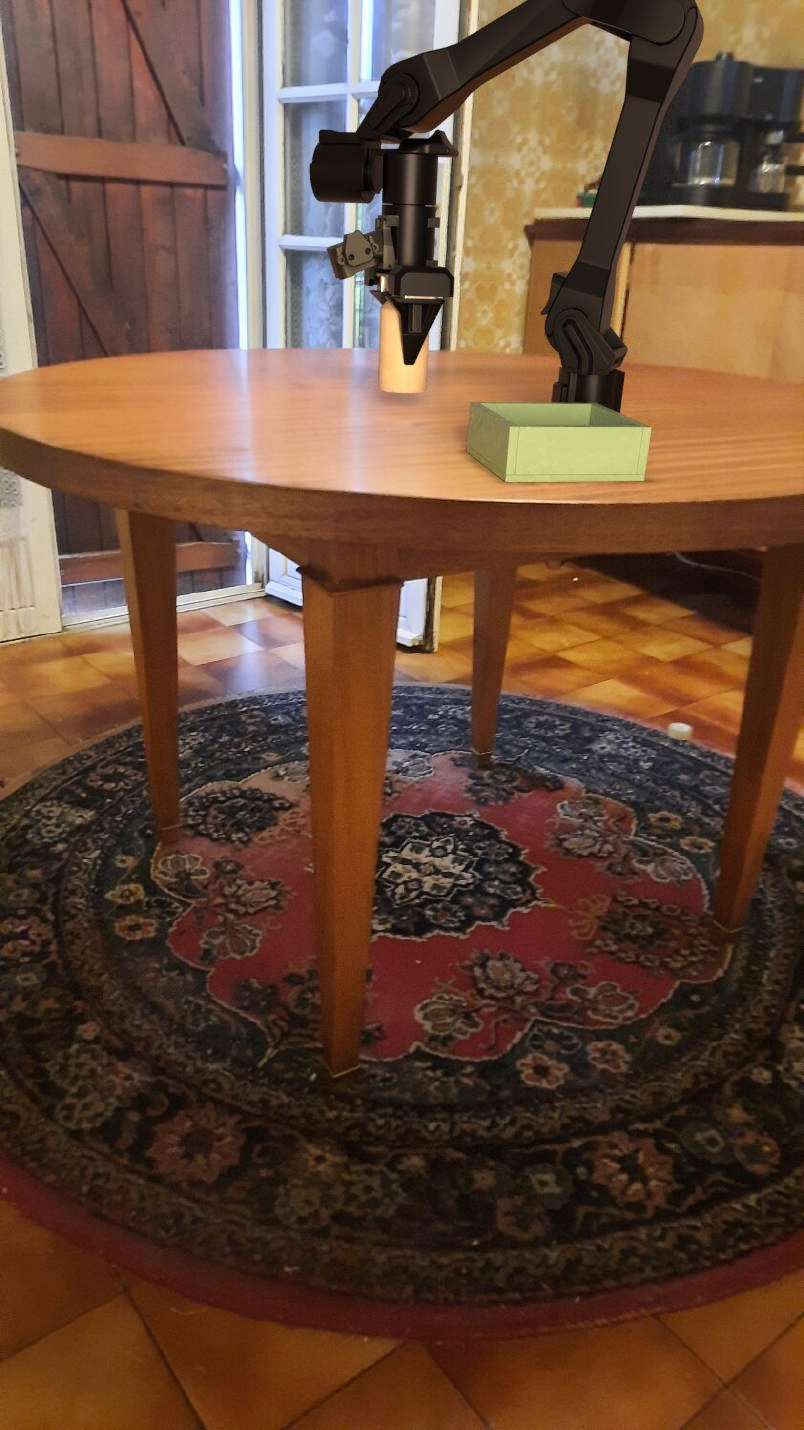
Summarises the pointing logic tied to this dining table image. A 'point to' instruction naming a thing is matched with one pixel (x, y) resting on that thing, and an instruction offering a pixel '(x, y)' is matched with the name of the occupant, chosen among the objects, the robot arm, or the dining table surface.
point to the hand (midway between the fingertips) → (403, 361)
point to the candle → (398, 358)
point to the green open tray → (557, 442)
